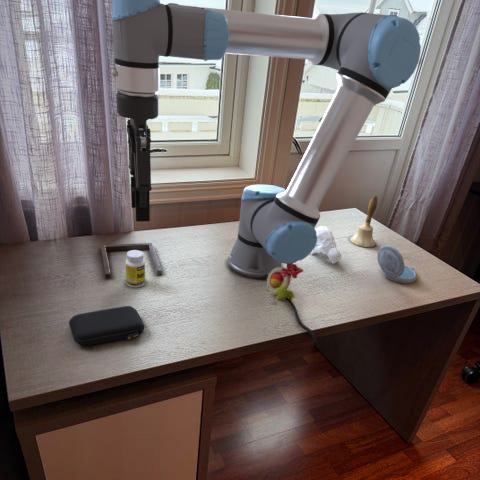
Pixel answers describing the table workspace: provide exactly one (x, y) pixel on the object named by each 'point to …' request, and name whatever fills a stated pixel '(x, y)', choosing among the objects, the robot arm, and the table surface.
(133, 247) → the bay
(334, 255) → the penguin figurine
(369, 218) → the hand bell
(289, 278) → the bird rattle
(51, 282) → the table surface
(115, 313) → the carrying case
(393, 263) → the pocket watch
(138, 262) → the supplement bottle
